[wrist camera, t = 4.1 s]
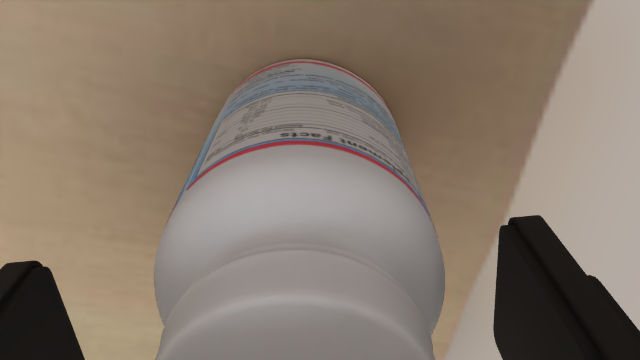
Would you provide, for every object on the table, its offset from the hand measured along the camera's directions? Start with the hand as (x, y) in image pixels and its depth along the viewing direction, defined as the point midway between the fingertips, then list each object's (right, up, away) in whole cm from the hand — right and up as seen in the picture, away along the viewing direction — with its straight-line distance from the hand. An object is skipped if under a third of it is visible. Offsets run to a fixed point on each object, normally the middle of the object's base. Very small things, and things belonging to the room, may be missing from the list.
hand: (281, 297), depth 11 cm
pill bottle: (0, +4, +7) cm, 8 cm away
